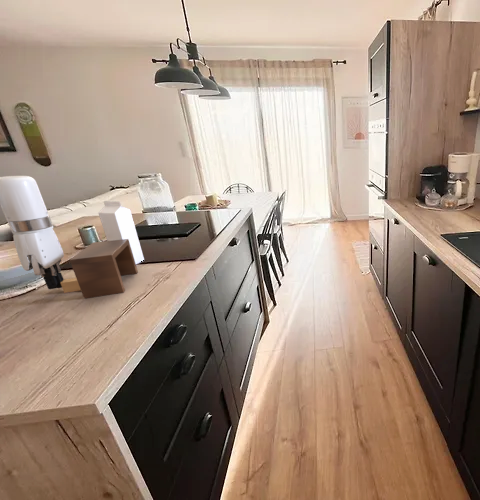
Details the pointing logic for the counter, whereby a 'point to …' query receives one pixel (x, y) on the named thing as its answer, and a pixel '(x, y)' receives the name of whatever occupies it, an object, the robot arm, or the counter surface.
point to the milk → (120, 226)
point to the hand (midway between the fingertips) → (57, 287)
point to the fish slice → (70, 285)
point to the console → (103, 267)
